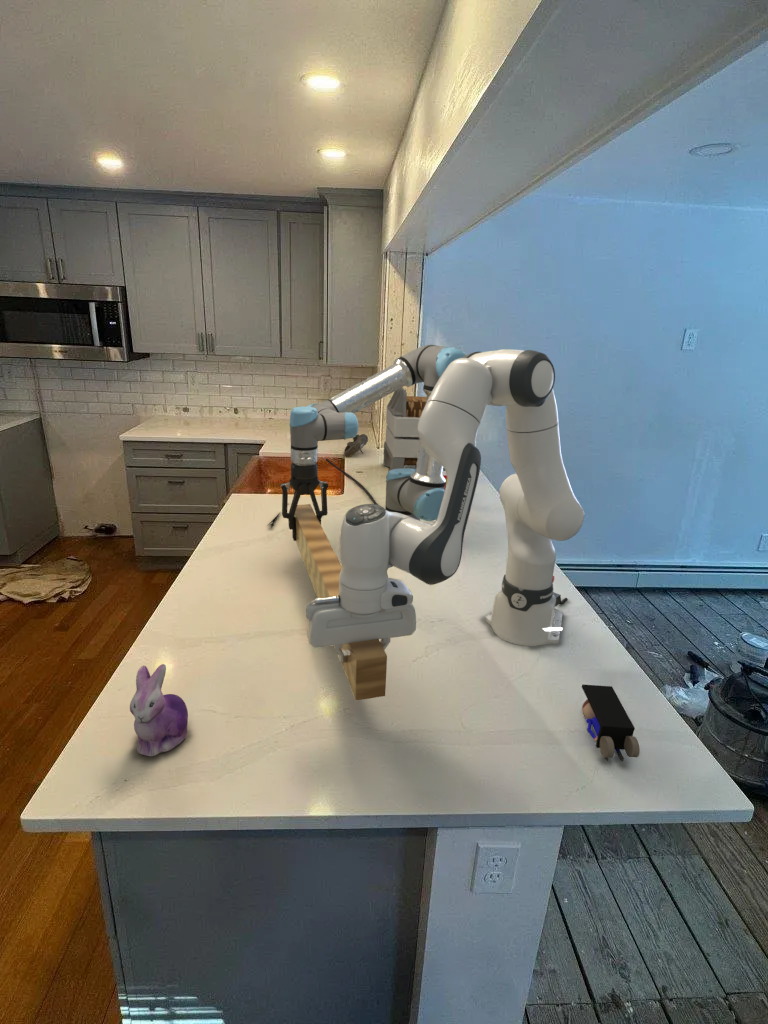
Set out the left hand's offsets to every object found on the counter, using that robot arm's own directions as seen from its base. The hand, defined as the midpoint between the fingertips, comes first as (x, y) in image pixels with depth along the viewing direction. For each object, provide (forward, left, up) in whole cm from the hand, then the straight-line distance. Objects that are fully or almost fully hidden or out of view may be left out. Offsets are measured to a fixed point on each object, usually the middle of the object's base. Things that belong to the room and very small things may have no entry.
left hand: (305, 538), depth 168 cm
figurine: (+45, -60, -10) cm, 76 cm away
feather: (-43, +16, -10) cm, 46 cm away
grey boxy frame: (-56, +103, -10) cm, 117 cm away
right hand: (+61, -27, +3) cm, 67 cm away
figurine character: (+95, +4, -10) cm, 96 cm away
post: (+30, -14, -1) cm, 33 cm away
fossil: (-104, +100, -10) cm, 144 cm away
